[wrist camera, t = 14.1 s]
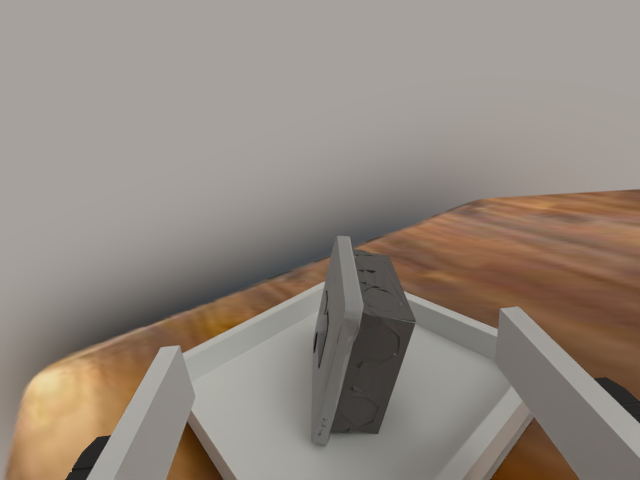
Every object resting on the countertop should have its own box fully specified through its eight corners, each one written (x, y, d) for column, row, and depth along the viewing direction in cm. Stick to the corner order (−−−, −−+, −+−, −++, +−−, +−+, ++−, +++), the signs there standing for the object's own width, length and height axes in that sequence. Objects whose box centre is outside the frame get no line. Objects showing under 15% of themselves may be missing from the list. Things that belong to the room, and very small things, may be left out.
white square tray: (551, 391, 23) (558, 353, 22) (348, 681, 12) (341, 637, 11) (351, 295, 36) (348, 268, 35) (172, 397, 26) (161, 364, 25)
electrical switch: (313, 343, 28) (311, 232, 25) (379, 342, 28) (387, 232, 25) (310, 454, 19) (306, 308, 16) (406, 454, 19) (423, 307, 16)
